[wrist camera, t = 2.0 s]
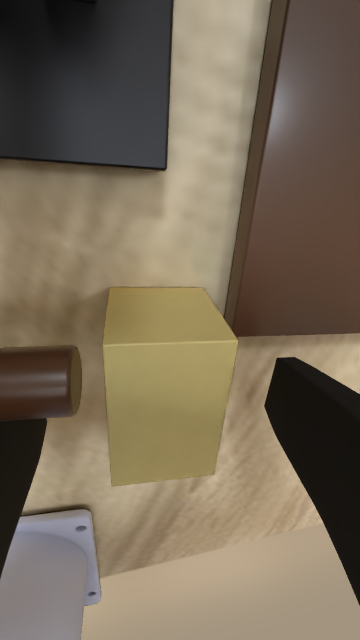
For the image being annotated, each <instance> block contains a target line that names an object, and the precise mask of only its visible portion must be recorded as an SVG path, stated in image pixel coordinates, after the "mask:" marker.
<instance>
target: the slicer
mask: <svg viewBox="0 0 360 640" xmlns="http://www.w3.org/2000/svg"><path fill="white" fill-rule="evenodd" d="M173 1H174V0H0V159H4V160H17V161H31V162H44V163H58V164H71V165H85V166H98V167H111V168H125V169H138V170H152V171H165V170H166V169H167V153H168V128H169V102H170V77H171V52H172V27H173Z"/></svg>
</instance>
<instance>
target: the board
mask: <svg viewBox="0 0 360 640" xmlns="http://www.w3.org/2000/svg"><path fill="white" fill-rule="evenodd" d="M224 320H225V321H226V323H227V324H228V326H229V327H230V329H231V330H232V332H233V333H234V335H235V336H236V337H248V336H282V335H315V334H348V333H360V0H273V1H272V8H271V14H270V21H269V28H268V34H267V41H266V47H265V54H264V61H263V67H262V74H261V81H260V87H259V94H258V100H257V107H256V114H255V120H254V127H253V133H252V140H251V147H250V153H249V160H248V166H247V173H246V180H245V186H244V193H243V199H242V206H241V213H240V219H239V226H238V233H237V239H236V246H235V252H234V259H233V266H232V272H231V279H230V285H229V292H228V299H227V305H226V312H225V318H224Z"/></svg>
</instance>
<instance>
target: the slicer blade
mask: <svg viewBox="0 0 360 640" xmlns="http://www.w3.org/2000/svg"><path fill="white" fill-rule="evenodd" d="M81 389H82V367H81V358H80V353H79V351H78V348H77V347H76V346H73V345H65V346H34V347H3V348H0V422H3V421H16V420H30V419H43V418H57V417H70V416H73V415H75V414H76V413H77V410H78V408H79V404H80V399H81Z"/></svg>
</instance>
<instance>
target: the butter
mask: <svg viewBox="0 0 360 640" xmlns="http://www.w3.org/2000/svg"><path fill="white" fill-rule="evenodd" d="M237 346H238V339H237V338H236V336H235V335H234V333H233V332H232V330H231V329H230V327H229V326H228V324H227V323H226V321H225V320H224V318H223V317H222V315H221V314H220V312H219V311H218V309H217V308H216V306H215V305H214V303H213V302H212V300H211V299H210V297H209V296H208V294H207V293H206V291H205V290H204V288H110V289H109V297H108V304H107V312H106V320H105V327H104V335H103V342H102V352H103V367H104V382H105V397H106V412H107V427H108V442H109V457H110V472H111V485H112V486H122V485H130V484H139V483H147V482H156V481H164V480H173V479H181V478H190V477H198V476H207V475H213V474H214V472H215V467H216V461H217V456H218V450H219V445H220V439H221V434H222V428H223V423H224V417H225V412H226V407H227V401H228V396H229V390H230V385H231V379H232V374H233V368H234V363H235V357H236V352H237Z"/></svg>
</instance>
